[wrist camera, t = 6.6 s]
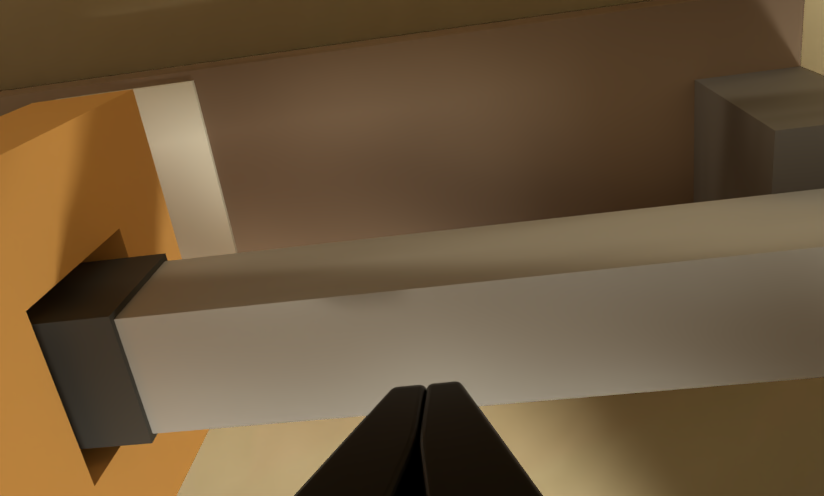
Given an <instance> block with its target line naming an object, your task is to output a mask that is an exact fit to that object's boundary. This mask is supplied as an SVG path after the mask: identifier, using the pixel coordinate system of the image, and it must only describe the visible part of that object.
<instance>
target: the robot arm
mask: <svg viewBox="0 0 824 496" xmlns="http://www.w3.org/2000/svg"><path fill="white" fill-rule="evenodd" d="M294 496H543V495H542V494H541V492H540V491H539V490H538V488H537V487H536V485H535V484H534V483H533V481H532V480H531V479H530V477H529V476H528V474H527V473H526V472H525V470H524V469H523V468H522V466H521V465H520V463H519V462H518V461H517V459H516V458H515V456H514V455H513V454H512V452H511V451H510V450H509V448H508V447H507V445H506V444H505V443H504V441H503V440H502V439H501V437H500V436H499V434H498V433H497V432H496V430H495V429H494V427H493V426H492V425H491V423H490V422H489V421H488V419H487V418H486V416H485V415H484V414H483V412H482V411H481V410H480V408H479V407H478V405H477V404H476V403H475V401H474V400H473V399H472V397H471V396H470V394H469V393H468V392H467V390H466V389H465V387H464V386H463V385H462V384H461V383H460V382H458V381H453V382H442V383H432V384H430V385H429V386H428V387H427V389H426V387H425V386H423V385H411V386H400V387H394V388H392V389H391V390H390V391H389V392H388V393H387V394H386V395H385V396H384V398H383V399H382V400H381V401H380V402H379V403H378V404H377V405H376V406H375V407H374V409H373V410H372V411H371V412H370V413H369V414H368V415H367V416H366V417H365V418H364V419H363V421H362V422H361V423H360V424H359V425H358V426H357V427H356V428H355V429H354V430H353V432H352V433H351V434H350V435H349V436H348V437H347V438H346V439H345V440H344V441H343V442H342V444H341V445H340V446H339V447H338V448H337V449H336V450H335V451H334V452H333V453H332V455H331V456H330V457H329V458H328V459H327V460H326V461H325V462H324V463H323V464H322V465H321V467H320V468H319V469H318V470H317V471H316V472H315V473H314V474H313V475H312V476H311V478H310V479H309V480H308V481H307V482H306V483H305V484H304V485H303V486H302V487H301V488H300V490H299V491H298V492H297V493H296V494H295V495H294Z"/></svg>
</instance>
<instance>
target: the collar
mask: <svg viewBox="0 0 824 496" xmlns="http://www.w3.org/2000/svg"><path fill="white" fill-rule="evenodd" d="M164 253H166V257H167V260H168V261H171V260H180V259H182V258H181V254H180V251H179V247H178V244H177V240H176V237H175V233H174V230H173V226H172V223H171V219H170V216H169V213H168V209H167V206H166V202H165V199H164V195H163V192H162V188H161V185H160V181H159V178H158V174H157V171H156V168H155V164H154V161H153V157H152V154H151V150H150V147H149V143H148V140H147V136H146V133H145V129H144V126H143V122H142V119H141V116H140V112H139V109H138V105H137V102H136V98H135V95H134V91H133V89H131V90H123V91H116V92H109V93H102V94H94V95H87V96H80V97H72V98H65V99H58V100H50V101H43V102H36V103H31V104H29V105H26V106H24V107H22V108H19V109H17V110H14V111H12V112H9V113H7V114H5V115H2V116H0V496H176V495H177V493H178V491H179V489H180V487H181V485H182V483H183V481H184V479H185V477H186V475H187V473H188V471H189V469H190V467H191V465H192V463H193V461H194V459H195V457H196V455H197V453H198V451H199V449H200V447H201V445H202V443H203V441H204V438H205V436H206V434H207V432H208V430H209V429H203V430H192V431H180V432H168V433H158V434H157V436H156V438H155V439H154V441H153V443H149V444H137V445H125V446H113V447H101V448H89V449H80V448H79V445H78V443H77V440H76V438H75V435H74V433H73V430H72V428H71V425H70V422H69V420H68V417H67V415H66V412H65V410H64V407H63V405H62V402H61V399H60V397H59V394H58V392H57V389H56V387H55V384H54V382H53V379H52V376H51V374H50V371H49V369H48V366H47V364H46V361H45V359H44V356H43V353H42V351H41V348H40V346H39V343H38V341H37V338H36V336H35V333H34V330H33V328H32V325H31V323H30V320H29V318H28V315H27V313H26V311H27V310H28V309H29V308H30V307H31V306H32V305H34V304H35V303H36V302H37V301H38V300H39V299H40V298H41V297H43V296H44V295H45V294H46V293H47V292H48V291H49V290H50V289H52V288H53V287H54V286H55V285H56V284H57V283H58V282H59V281H61V280H62V279H63V278H64V277H65V276H66V275H67V274H68V273H70V272H71V271H72V270H73V269H74V268H75V267H76V266H77V265H79V264H80V263H83V262H92V261H101V260H110V259H119V258H128V257H137V256H146V255H155V254H164Z"/></svg>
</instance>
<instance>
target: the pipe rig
mask: <svg viewBox="0 0 824 496" xmlns="http://www.w3.org/2000/svg"><path fill="white" fill-rule="evenodd" d="M804 1H805V0H651V1H643V2H636V3H629V4H622V5H615V6H607V7H600V8H593V9H586V10H579V11H572V12H564V13H557V14H550V15H543V16H536V17H529V18H521V19H514V20H507V21H500V22H493V23H486V24H478V25H471V26H464V27H457V28H450V29H443V30H435V31H428V32H421V33H414V34H407V35H400V36H392V37H385V38H378V39H371V40H364V41H357V42H349V43H342V44H335V45H328V46H321V47H314V48H306V49H299V50H292V51H285V52H278V53H270V54H263V55H256V56H249V57H242V58H235V59H227V60H220V61H213V62H206V63H199V64H192V65H184V66H177V67H170V68H163V69H156V70H149V71H141V72H134V73H127V74H120V75H113V76H106V77H98V78H91V79H84V80H77V81H70V82H63V83H55V84H48V85H41V86H34V87H27V88H20V89H12V90H5V91H0V116H2V115H5V114H7V113H9V112H12V111H14V110H17V109H19V108H22V107H24V106H26V105H29V104H31V103H36V102H43V101H50V100H58V99H65V98H72V97H80V96H87V95H94V94H102V93H109V92H116V91H123V90H131V89H133V91H134V95H135V98H136V102H137V105H138V109H139V112H140V116H141V119H142V122H143V126H144V129H145V133H146V136H147V140H148V143H149V147H150V150H151V154H152V157H153V161H154V164H155V168H156V171H157V174H158V178H159V181H160V185H161V188H162V192H163V195H164V199H165V202H166V206H167V209H168V213H169V216H170V219H171V223H172V226H173V230H174V233H175V237H176V240H177V244H178V247H179V251H180V254H181V258H182V259H180V260H171V261H168V260H167V257H166V253H164V254H155V255H146V256H137V257H128V258H119V259H110V260H101V261H92V262H83V263H80V264H79V265H77V266H76V267H75V268H74V269H73V270H72V271H71V272H70V273H68V274H67V275H66V276H65V277H64V278H63V279H62V280H61V281H59V282H58V283H57V284H56V285H55V286H54V287H53V288H52V289H50V290H49V291H48V292H47V293H46V294H45V295H44V296H43V297H41V298H40V299H39V300H38V301H37V302H36V303H35V304H34V305H32V306H31V307H30V308H29V309H28V310H27V311H26V313H27V315H28V318H29V320H30V323H31V325H32V328H33V330H34V333H35V336H36V338H37V341H38V343H39V346H40V348H41V351H42V353H43V356H44V359H45V361H46V364H47V366H48V369H49V371H50V374H51V376H52V379H53V382H54V384H55V387H56V389H57V392H58V394H59V397H60V399H61V402H62V405H63V407H64V410H65V412H66V415H67V417H68V420H69V422H70V425H71V428H72V430H73V433H74V435H75V438H76V440H77V443H78V445H79V448H80V449H89V448H101V447H113V446H125V445H137V444H149V443H153V441H154V439H155V438H156V436H157V434H158V433H168V432H180V431H192V430H203V429H215V428H227V427H239V426H251V425H263V424H274V423H286V422H298V421H310V420H322V419H334V418H346V417H357V416H367V415H368V414H369V413H370V412H371V411H372V410H373V409H374V407H375V406H376V405H377V404H378V403H379V402H380V401H381V400H382V399H383V398H384V396H385V395H386V394H387V393H388V392H389V391H390V390H391V389H392V388H394V387H400V386H411V385H423V386H425V387H426V389H427V387H428V386H429V385H430V384H432V383H442V382H453V381H458V382H460V383H461V384H462V385H463V386H464V387H465V389H466V390H467V392H468V393H469V394H470V396H471V397H472V399H473V400H474V401H475V403H476V404H477V405H478V406H488V405H499V404H511V403H523V402H535V401H547V400H559V399H571V398H582V397H594V396H606V395H618V394H630V393H642V392H653V391H665V390H677V389H689V388H701V387H713V386H725V385H736V384H748V383H760V382H772V381H784V380H796V379H807V378H819V377H824V76H823V75H821V74H818V73H816V72H813V71H811V70H808V69H806V68H803V67H801V66H800V63H801V48H802V32H803V16H804Z"/></svg>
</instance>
